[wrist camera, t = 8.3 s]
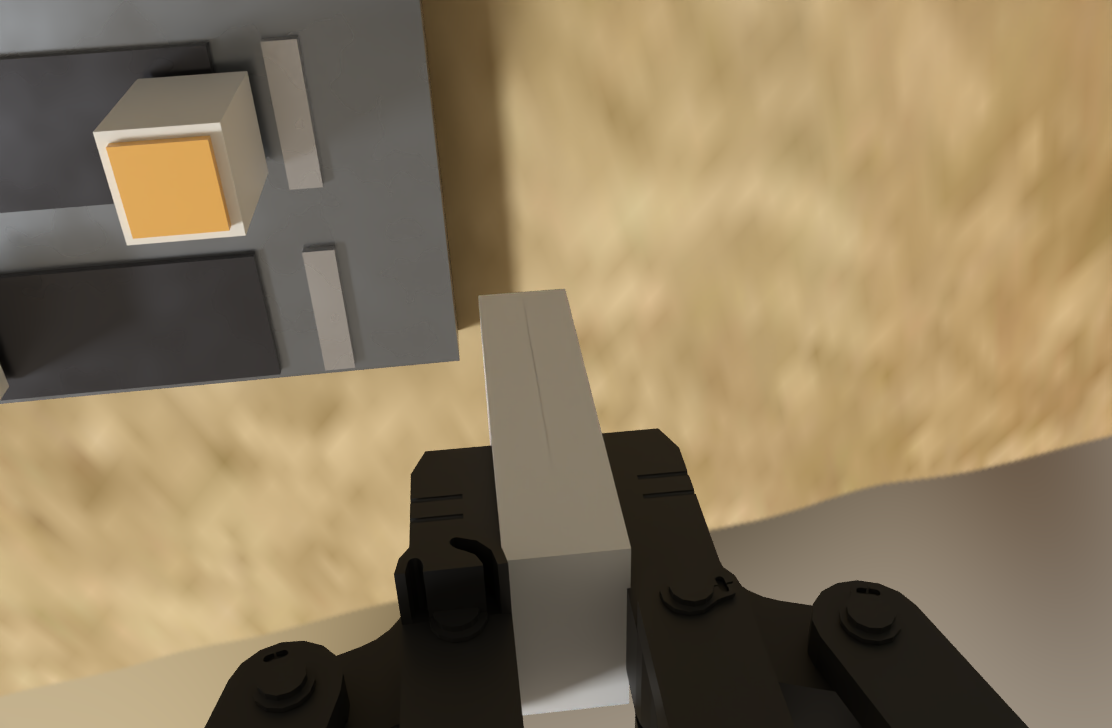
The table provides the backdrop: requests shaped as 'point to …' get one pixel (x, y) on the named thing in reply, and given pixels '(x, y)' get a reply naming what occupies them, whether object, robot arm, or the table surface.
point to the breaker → (3, 383)
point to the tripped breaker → (184, 157)
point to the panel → (279, 218)
